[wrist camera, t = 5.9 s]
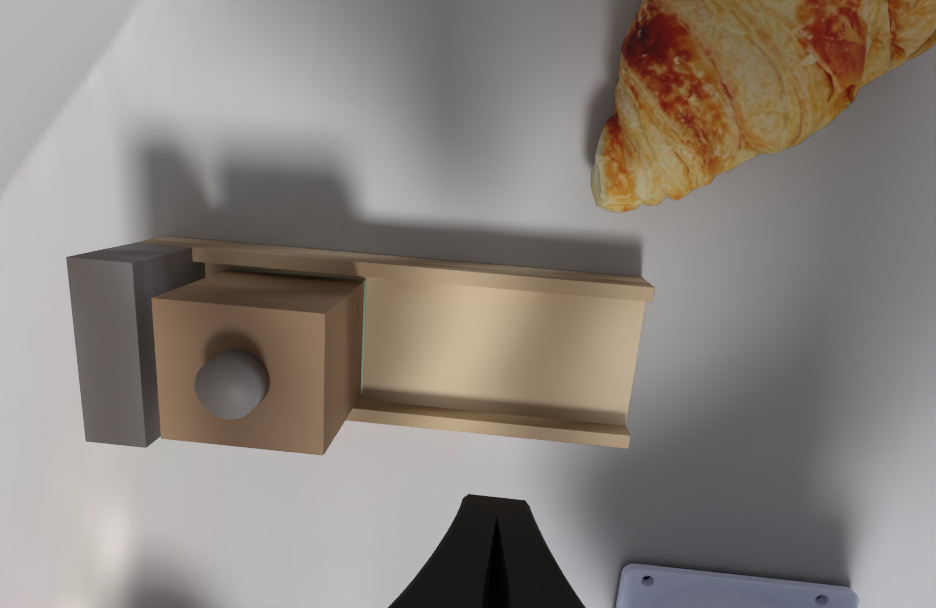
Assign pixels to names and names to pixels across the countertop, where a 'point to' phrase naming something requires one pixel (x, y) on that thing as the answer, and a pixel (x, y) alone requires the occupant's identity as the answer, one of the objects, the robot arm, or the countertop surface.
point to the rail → (387, 339)
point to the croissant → (739, 84)
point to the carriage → (258, 360)
